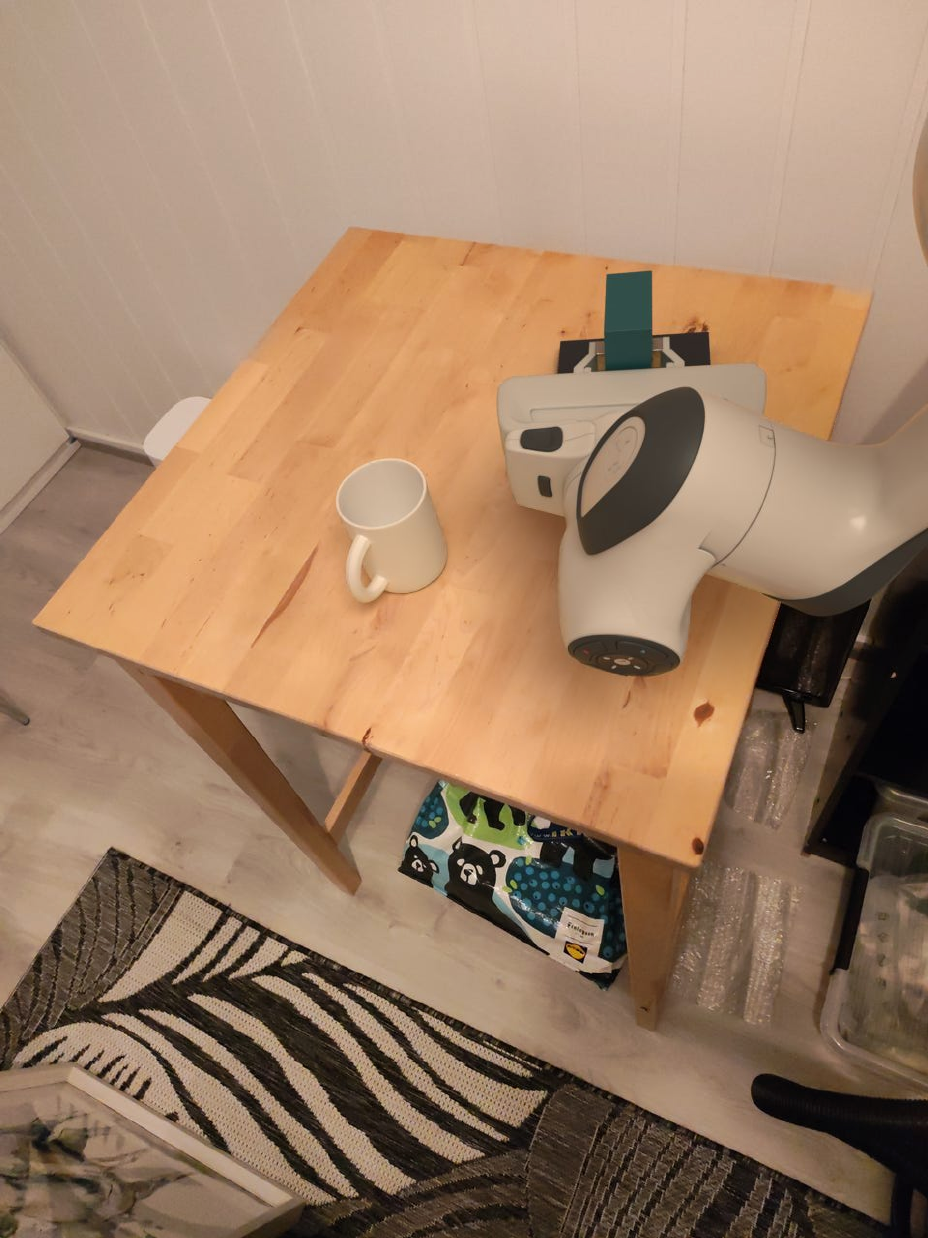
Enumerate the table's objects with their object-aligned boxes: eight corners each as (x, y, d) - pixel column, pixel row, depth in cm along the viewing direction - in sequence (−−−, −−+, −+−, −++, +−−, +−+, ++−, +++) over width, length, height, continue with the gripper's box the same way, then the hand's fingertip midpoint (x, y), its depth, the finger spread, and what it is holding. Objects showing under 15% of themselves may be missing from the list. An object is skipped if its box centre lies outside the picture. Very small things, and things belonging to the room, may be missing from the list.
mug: (404, 638, 75) (375, 573, 66) (332, 612, 78) (294, 546, 69) (463, 541, 80) (443, 469, 71) (393, 520, 83) (365, 449, 74)
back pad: (649, 380, 72) (652, 269, 63) (649, 437, 68) (652, 328, 59) (609, 382, 72) (606, 273, 63) (607, 439, 69) (603, 331, 60)
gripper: (784, 434, 54) (768, 302, 61) (483, 446, 58) (501, 322, 65) (771, 497, 59) (758, 369, 66) (495, 504, 63) (511, 383, 70)
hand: (628, 345), depth 66 cm, fingers closed on back pad, 3 cm apart
